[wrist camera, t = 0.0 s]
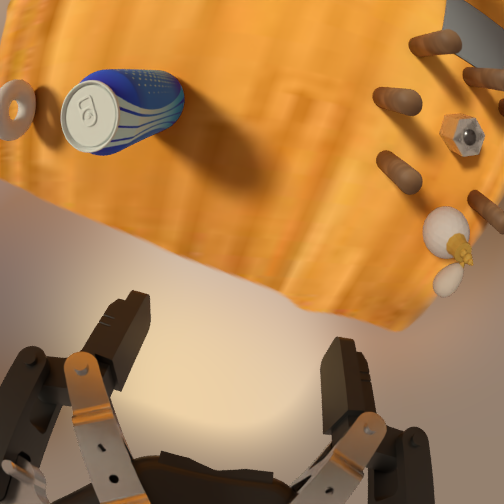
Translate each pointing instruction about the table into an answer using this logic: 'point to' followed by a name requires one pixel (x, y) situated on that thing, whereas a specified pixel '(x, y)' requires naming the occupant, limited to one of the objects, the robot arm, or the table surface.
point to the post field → (412, 105)
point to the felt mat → (475, 35)
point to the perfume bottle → (448, 246)
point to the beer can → (120, 109)
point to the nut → (462, 134)
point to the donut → (25, 97)
